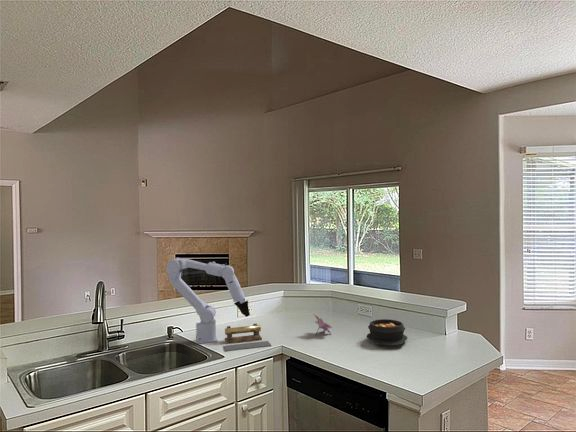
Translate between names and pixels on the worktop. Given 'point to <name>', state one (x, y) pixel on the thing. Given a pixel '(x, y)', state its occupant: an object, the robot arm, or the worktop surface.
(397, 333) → the casserole
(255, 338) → the hook stand
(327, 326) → the lily
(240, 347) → the mat
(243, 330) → the rail
